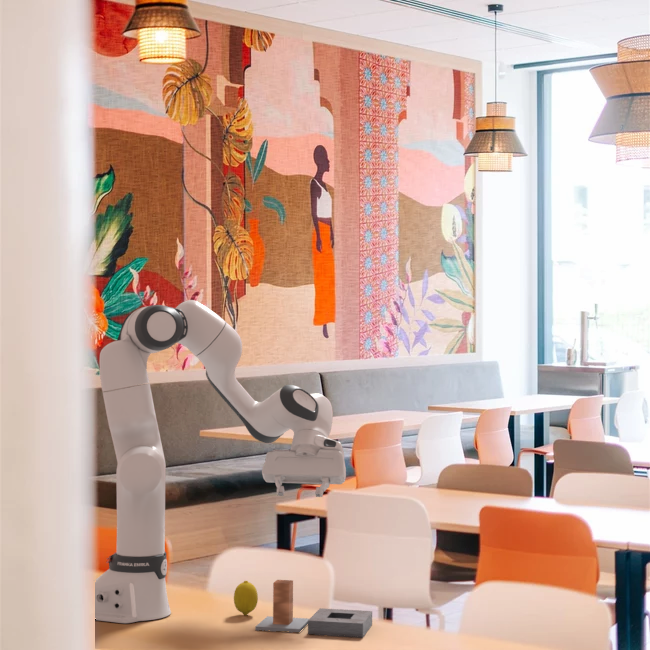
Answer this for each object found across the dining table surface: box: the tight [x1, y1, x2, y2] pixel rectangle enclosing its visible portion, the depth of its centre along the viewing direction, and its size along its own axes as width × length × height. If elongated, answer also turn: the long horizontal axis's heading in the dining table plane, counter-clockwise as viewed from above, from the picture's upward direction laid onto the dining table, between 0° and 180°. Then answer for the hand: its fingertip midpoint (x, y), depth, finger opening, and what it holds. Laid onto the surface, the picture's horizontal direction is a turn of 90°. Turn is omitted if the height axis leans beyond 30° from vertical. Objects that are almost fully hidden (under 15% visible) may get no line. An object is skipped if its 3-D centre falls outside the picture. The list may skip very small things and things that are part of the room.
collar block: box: [307, 607, 373, 639], centre depth 233 cm, size 12×12×3 cm
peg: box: [272, 579, 294, 625], centre depth 236 cm, size 4×4×9 cm
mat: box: [254, 615, 310, 633], centre depth 236 cm, size 10×10×1 cm
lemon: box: [233, 580, 259, 616], centre depth 246 cm, size 6×6×8 cm
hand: (299, 494), depth 251 cm, fingers open, 8 cm apart
